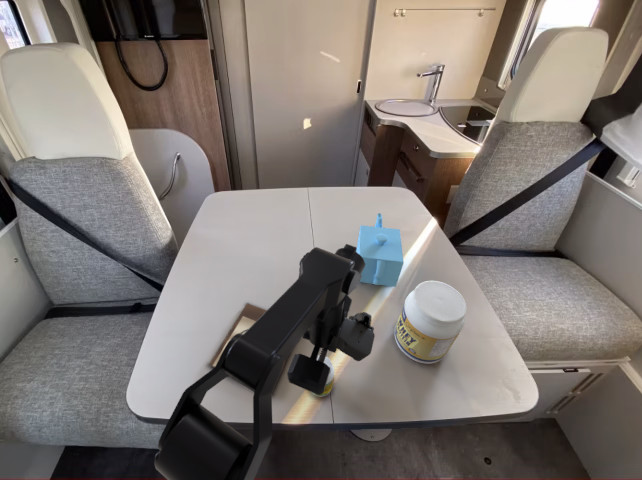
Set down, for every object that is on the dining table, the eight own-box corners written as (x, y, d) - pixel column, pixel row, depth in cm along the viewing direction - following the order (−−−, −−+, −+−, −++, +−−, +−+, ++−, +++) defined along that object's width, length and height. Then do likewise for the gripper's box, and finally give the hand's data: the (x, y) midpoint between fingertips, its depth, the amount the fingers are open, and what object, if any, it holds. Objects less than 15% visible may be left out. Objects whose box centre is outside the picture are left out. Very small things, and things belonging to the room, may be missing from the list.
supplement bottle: (319, 367, 71) (320, 346, 65) (337, 384, 68) (341, 364, 62) (302, 384, 68) (303, 364, 62) (321, 403, 65) (323, 384, 59)
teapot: (395, 298, 85) (406, 264, 76) (354, 293, 86) (360, 259, 78) (390, 243, 101) (399, 210, 92) (356, 239, 103) (361, 207, 94)
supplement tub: (384, 324, 79) (398, 282, 68) (427, 314, 81) (447, 271, 70) (409, 371, 70) (430, 331, 59) (457, 359, 72) (485, 318, 61)
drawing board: (271, 394, 67) (271, 392, 66) (209, 366, 72) (208, 363, 71) (301, 325, 79) (301, 322, 78) (247, 305, 84) (246, 302, 83)
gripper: (360, 387, 41) (348, 426, 51) (384, 284, 54) (371, 331, 64) (284, 356, 45) (287, 398, 55) (324, 266, 58) (320, 314, 68)
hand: (320, 357), depth 60 cm, fingers open, 9 cm apart
